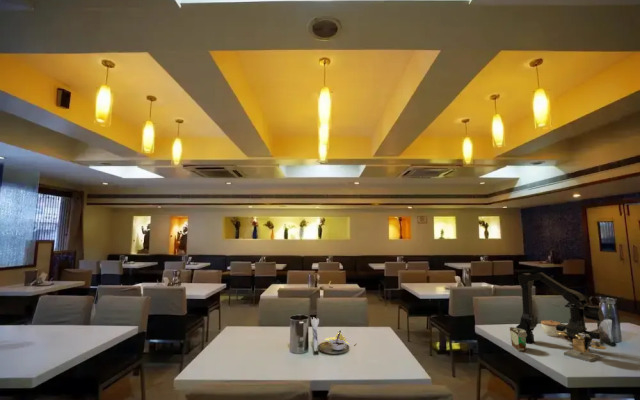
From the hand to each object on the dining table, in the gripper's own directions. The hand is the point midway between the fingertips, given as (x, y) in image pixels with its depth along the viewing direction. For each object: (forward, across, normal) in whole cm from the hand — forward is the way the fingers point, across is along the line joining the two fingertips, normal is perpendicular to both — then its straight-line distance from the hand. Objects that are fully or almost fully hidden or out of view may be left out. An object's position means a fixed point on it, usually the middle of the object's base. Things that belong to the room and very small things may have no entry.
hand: (580, 348), depth 159 cm
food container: (+4, -21, -16) cm, 27 cm away
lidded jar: (+4, -26, +27) cm, 38 cm away
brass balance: (+4, -6, +14) cm, 16 cm away
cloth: (+5, -80, -97) cm, 126 cm away
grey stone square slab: (+4, 0, 0) cm, 4 cm away
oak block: (+1, 0, 0) cm, 1 cm away
